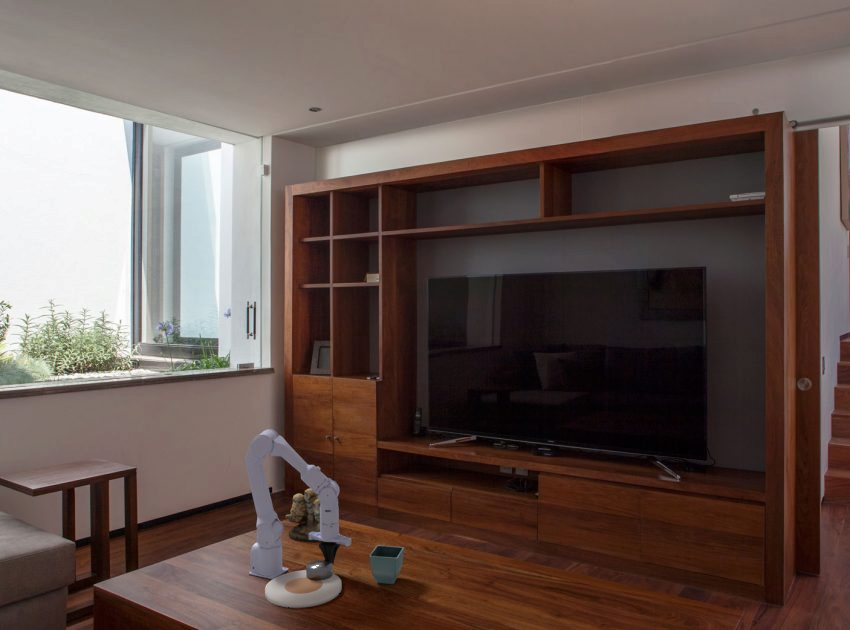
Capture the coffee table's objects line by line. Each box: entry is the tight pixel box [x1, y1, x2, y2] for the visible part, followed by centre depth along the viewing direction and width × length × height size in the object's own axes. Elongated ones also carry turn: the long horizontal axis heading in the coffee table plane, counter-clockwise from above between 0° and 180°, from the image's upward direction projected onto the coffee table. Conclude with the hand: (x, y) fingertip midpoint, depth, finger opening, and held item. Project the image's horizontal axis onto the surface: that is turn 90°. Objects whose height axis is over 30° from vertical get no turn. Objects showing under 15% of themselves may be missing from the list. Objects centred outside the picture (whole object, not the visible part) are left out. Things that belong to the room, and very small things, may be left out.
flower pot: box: [369, 544, 405, 585], centre depth 200 cm, size 9×9×9 cm
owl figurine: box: [285, 487, 321, 543], centre depth 239 cm, size 18×12×17 cm, turn 78°
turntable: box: [264, 569, 343, 609], centre depth 194 cm, size 22×22×2 cm
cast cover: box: [305, 559, 334, 581], centre depth 201 cm, size 8×8×3 cm
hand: (330, 565), depth 206 cm, fingers closed
